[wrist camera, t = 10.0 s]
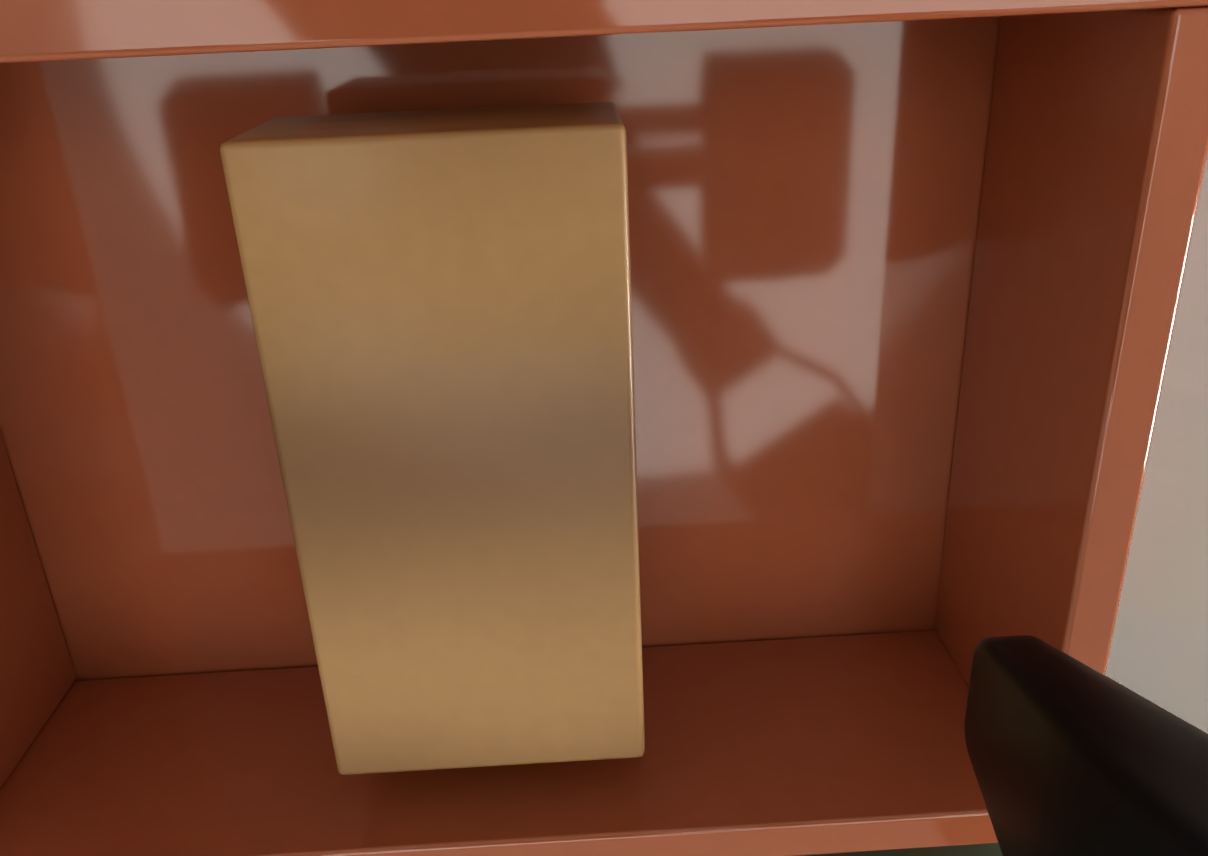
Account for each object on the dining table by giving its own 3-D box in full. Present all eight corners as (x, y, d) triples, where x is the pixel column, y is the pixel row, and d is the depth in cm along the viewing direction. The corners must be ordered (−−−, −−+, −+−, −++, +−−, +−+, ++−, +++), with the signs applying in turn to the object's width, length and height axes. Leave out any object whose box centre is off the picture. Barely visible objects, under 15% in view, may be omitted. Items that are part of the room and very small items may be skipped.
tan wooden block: (628, 606, 16) (645, 759, 13) (380, 621, 16) (337, 778, 13) (610, 87, 13) (626, 123, 10) (299, 102, 13) (215, 142, 10)
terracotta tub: (954, 637, 18) (1074, 840, 13) (65, 690, 17) (-90, 914, 13) (1036, -55, 13) (1254, -69, 9) (-156, 0, 13) (-493, 12, 9)
